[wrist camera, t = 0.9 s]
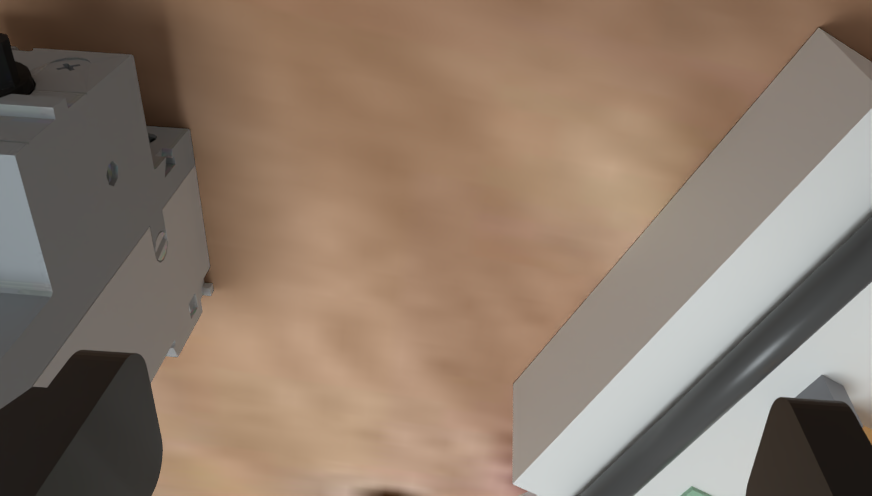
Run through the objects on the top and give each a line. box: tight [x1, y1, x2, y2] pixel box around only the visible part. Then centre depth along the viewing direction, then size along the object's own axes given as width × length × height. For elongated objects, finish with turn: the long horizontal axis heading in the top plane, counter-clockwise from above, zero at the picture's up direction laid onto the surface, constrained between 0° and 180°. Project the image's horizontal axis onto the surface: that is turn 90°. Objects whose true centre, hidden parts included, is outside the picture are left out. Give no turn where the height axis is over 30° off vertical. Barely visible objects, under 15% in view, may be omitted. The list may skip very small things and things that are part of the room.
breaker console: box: [513, 28, 872, 496], centre depth 31 cm, size 20×18×8 cm
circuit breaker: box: [0, 33, 214, 409], centre depth 26 cm, size 8×14×15 cm, turn 178°
